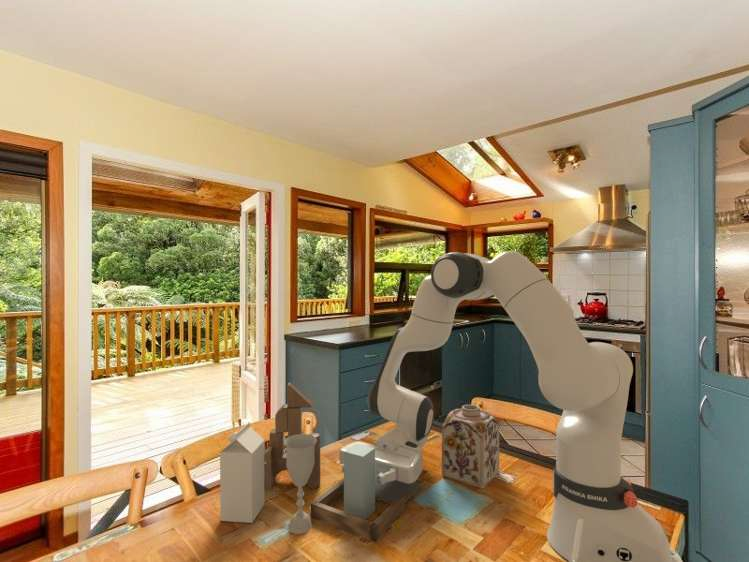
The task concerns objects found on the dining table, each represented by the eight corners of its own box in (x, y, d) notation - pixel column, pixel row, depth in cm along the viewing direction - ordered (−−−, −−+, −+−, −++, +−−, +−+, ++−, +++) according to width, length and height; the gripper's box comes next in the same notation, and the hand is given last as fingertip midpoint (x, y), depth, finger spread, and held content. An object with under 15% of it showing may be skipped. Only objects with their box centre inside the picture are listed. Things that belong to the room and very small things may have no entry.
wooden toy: (256, 491, 97) (255, 389, 97) (261, 477, 104) (261, 382, 104) (319, 488, 98) (319, 388, 98) (321, 475, 105) (321, 380, 105)
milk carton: (264, 504, 92) (264, 422, 91) (252, 524, 84) (251, 434, 84) (234, 503, 92) (234, 421, 92) (220, 521, 85) (219, 433, 85)
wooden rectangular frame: (404, 509, 90) (404, 496, 90) (375, 542, 78) (375, 527, 78) (344, 489, 98) (344, 477, 98) (310, 517, 87) (310, 503, 87)
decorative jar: (483, 491, 98) (483, 417, 97) (440, 476, 105) (440, 408, 104) (500, 471, 107) (500, 405, 107) (460, 459, 114) (460, 397, 114)
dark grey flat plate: (421, 485, 100) (421, 483, 100) (401, 506, 91) (401, 504, 91) (373, 471, 107) (373, 469, 107) (350, 490, 98) (350, 488, 98)
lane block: (375, 510, 90) (375, 448, 89) (363, 521, 85) (363, 456, 85) (356, 503, 92) (356, 443, 92) (343, 514, 88) (343, 451, 88)
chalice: (281, 519, 86) (281, 436, 86) (312, 512, 88) (312, 432, 88) (286, 540, 79) (286, 450, 79) (320, 532, 82) (320, 445, 81)
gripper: (356, 431, 106) (324, 450, 95) (427, 448, 96) (401, 472, 84) (356, 454, 107) (324, 477, 95) (427, 474, 96) (401, 502, 84)
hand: (361, 475), depth 89 cm, fingers open, 8 cm apart
